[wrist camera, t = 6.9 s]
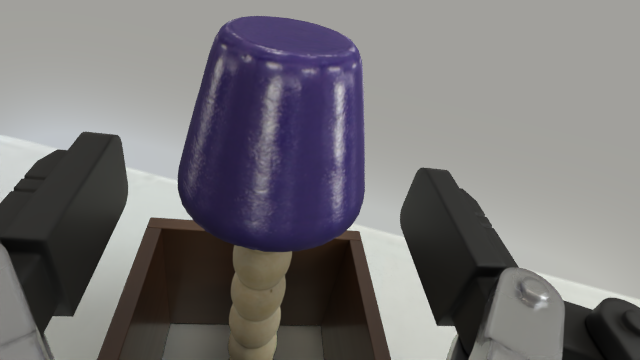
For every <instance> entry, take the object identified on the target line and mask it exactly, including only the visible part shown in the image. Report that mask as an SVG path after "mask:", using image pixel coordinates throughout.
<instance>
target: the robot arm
mask: <svg viewBox="0 0 640 360" xmlns="http://www.w3.org/2000/svg"><path fill="white" fill-rule="evenodd" d="M127 196H128V181H127V175H126V168H125V161H124V155H123V148H122V142H121V139H120V137H119V136H118V135H112V134H102V133H92V132H83V133H81V134H80V136H79V137H78V138H77V139H76V141H75V142H74V143H73V145H72V146H71V147H70V148H69V149H68V150H56V151H54V152H52V153H51V154H49V155H47V156H45V157H44V158H42V159H40V160H38V161H37V162H36V163H35V164H34V165H33V167H32V168H31V169H30V170H29V171H28V172H27V173H26V175H25V178H24V179H21V180H20V181H19V183H18V184H17V185H16V186H15V187H14V191H11V192H10V193H9V194H8V195H7V196H6V197H5V199H4V200H3V201H2V202H1V203H0V360H55V359H54V357H53V354H52V352H51V349H50V346H49V344H48V341H47V339H46V336H45V334H44V331H45V329H46V327H47V325H48V323H49V321H50V320H51V318H52V316H73V315H74V313H75V311H76V309H77V307H78V305H79V303H80V301H81V298H82V296H83V294H84V292H85V290H86V288H87V286H88V284H89V282H90V279H91V277H92V275H93V273H94V271H95V269H96V267H97V265H98V263H99V260H100V258H101V256H102V254H103V252H104V250H105V248H106V246H107V244H108V241H109V239H110V237H111V235H112V233H113V231H114V229H115V227H116V225H117V222H118V220H119V218H120V216H121V214H122V212H123V210H124V207H125V205H126V201H127ZM400 224H401V229H402V231H403V234H404V237H405V240H406V242H407V245H408V248H409V251H410V253H411V256H412V259H413V261H414V264H415V267H416V270H417V272H418V275H419V278H420V280H421V283H422V286H423V289H424V291H425V294H426V297H427V299H428V302H429V305H430V308H431V310H432V313H433V316H434V319H435V321H436V324H437V326H455V328H456V331H457V333H458V334H457V335H456V336H455V338H454V339H453V341H452V344H451V347H450V350H449V353H448V356H447V358H446V360H640V308H639V307H637V306H636V305H634V304H632V303H630V302H627V301H625V300H621V299H617V298H607V299H604V300H603V301H602V302H601V303H600V304H599V305H598V306H597V307H596V308H595V309H593V310H591V309H588V308H585V307H582V306H579V305H576V304H573V303H570V302H566V301H563V300H562V298H561V296H560V294H559V293H558V292H557V290H556V289H555V288H554V287H553V286H552V285H551V284H550V283H549V282H548V281H546V280H545V279H544V278H542V277H541V276H539V275H538V274H536V273H534V272H532V271H529V270H526V269H523V268H519V267H518V265H517V264H516V262H515V261H514V259H513V258H512V256H511V255H510V253H509V251H508V250H507V248H506V247H505V245H504V244H503V242H502V240H501V239H500V237H499V236H498V234H497V233H496V231H495V230H494V228H492V225H491V223H490V222H489V220H488V218H487V217H485V214H484V212H483V211H482V209H481V208H480V206H479V204H478V203H477V201H476V200H474V199H473V198H472V197H471V196H470V195H469V194H468V193H466V191H464V190H463V189H460V188H459V187H458V185H457V184H456V182H455V180H454V179H453V177H452V176H451V174H450V173H449V171H447V170H441V169H431V168H420V169H419V170H418V171H417V173H416V175H415V177H414V180H413V182H412V184H411V187H410V189H409V192H408V194H407V196H406V199H405V201H404V203H403V206H402V209H401V214H400Z"/></svg>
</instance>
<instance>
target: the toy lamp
mask: <svg viewBox="0 0 640 360" xmlns="http://www.w3.org/2000/svg"><path fill="white" fill-rule="evenodd" d="M364 160H365V158H364V91H363V70H362V60H361V57H360V54H359V51H358V49H357V47H356V46H355V45H354V43H353V42H352V41H351V40H350V39H349V38H347V37H346V36H344V35H342V34H340V33H339V32H337V31H334V30H331V29H329V28H326V27H323V26H320V25H317V24H313V23H309V22H305V21H299V20H294V19H288V18H279V17H270V16H250V17H241V18H237V19H234V20H231V21H229V22H227V23H226V24H225V25H224V26H222V27H221V29H220V31H219V32H218V34H217V35H216V37H215V39H214V42H213V45H212V48H211V50H210V53H209V57H208V60H207V64H206V68H205V71H204V75H203V79H202V83H201V87H200V90H199V93H198V97H197V100H196V104H195V107H194V111H193V115H192V119H191V122H190V126H189V130H188V134H187V138H186V141H185V145H184V149H183V153H182V157H181V161H180V165H179V171H178V191H179V196H180V198H181V201H182V205H183V206H184V208H185V209H186V211H187V213H188V214H189V215H190V216H191V217H192V219H193V220H194V222H195V223H197V224H198V225H199V226H200V227H202V228H203V229H204V230H205V231H206V232H208V233H210V234H212V235H213V236H215V237H216V238H219V239H221V240H223V241H224V242H228V243H231V244H233V245H234V250H233V266H234V269H235V274H234V277H233V280H232V285H231V298H232V302H233V304H232V307H231V310H230V315H229V327H230V331H231V333H230V336H229V343H228V351H229V355H230V358H229V360H273V355H274V353H275V350H276V346H277V333H276V332H277V330H278V328H279V324H280V319H281V310H280V305H281V303H282V300H283V297H284V294H285V288H286V280H285V274H286V272H287V270H288V268H289V266H290V262H291V258H292V251H301V250H306V249H313V248H314V247H317V246H322V245H324V244H325V243H327V242H329V241H331V240H333V239H334V238H336V237H339V236H341V235H342V234H343V233H344V232H345V231H346V230H347V229H348V228H349V227H350V226H351V225H352V224H353V222H354V221H355V219H356V218H357V216H358V215H359V212H360V209H361V206H362V203H363V199H364V192H365V189H364V188H365V182H364V163H365V162H364Z"/></svg>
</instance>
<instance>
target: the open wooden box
mask: <svg viewBox="0 0 640 360" xmlns="http://www.w3.org/2000/svg"><path fill="white" fill-rule="evenodd" d="M233 250H234V245H233V244H231V243H228V242H224V241H223V240H221V239H219V238H216V237H215V236H213V235H212V234H210V233H208V232H206V231H205V230H204V229H203V228H202V227H200V226H199V225H198V224H197V223H195V222H194V220H181V219H166V218H150V220H149V223H148V225H147V228H146V231H145V233H144V236H143V239H142V241H141V244H140V247H139V249H138V252H137V254H136V257H135V260H134V262H133V265H132V268H131V270H130V273H129V276H128V278H127V281H126V284H125V286H124V289H123V292H122V294H121V297H120V300H119V302H118V305H117V308H116V310H115V313H114V316H113V318H112V321H111V324H110V326H109V329H108V332H107V334H106V337H105V340H104V342H103V345H102V348H101V350H100V353H99V356H98V358H97V360H162V356H163V352H164V347H165V343H166V339H167V335H168V331H169V326H170V323H193V324H229V315H230V310H231V307H232V304H233V302H232V298H231V285H232V280H233V277H234V274H235V269H234V266H233ZM285 280H286V288H285V294H284V297H283V300H282V303H281V305H280V310H281V319H280V324H279V325H309V326H321V332H322V342H323V351H324V360H391V357H390V353H389V349H388V345H387V341H386V337H385V333H384V329H383V325H382V321H381V317H380V313H379V309H378V305H377V301H376V297H375V293H374V289H373V284H372V280H371V276H370V272H369V268H368V264H367V260H366V256H365V252H364V248H363V244H362V241H361V236H360V232H359V231H347V230H346V231H345V232H344V233H343V234H342V235H341V236H339V237H336V238H334V239H333V240H331V241H329V242H327V243H325V244H324V245H322V246H317V247H314V248H313V249H306V250H301V251H292V258H291V262H290V266H289V268H288V270H287V272H286V274H285Z"/></svg>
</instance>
